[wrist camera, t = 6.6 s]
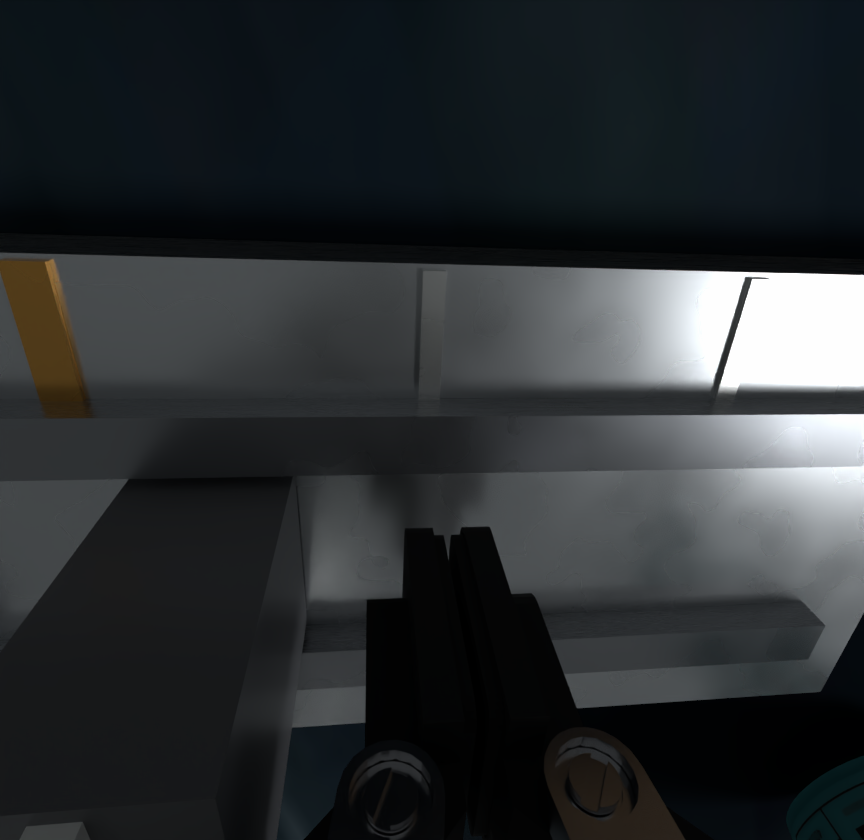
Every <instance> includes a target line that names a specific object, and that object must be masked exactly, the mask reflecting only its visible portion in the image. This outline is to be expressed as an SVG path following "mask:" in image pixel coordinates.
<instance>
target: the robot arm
mask: <svg viewBox="0 0 864 840" xmlns="http://www.w3.org/2000/svg"><path fill="white" fill-rule="evenodd" d="M466 812H467V817H468V823H469V829H470V833H471V836H482V839H483V840H713V839H712V838H711V837H709V836H708V835H706V834H705V833H703V832H702V831H701V830H699V829H698V828H696V827H695V826H693V825H692V824H691V823H689V822H688V821H686V820H685V819H683V818H682V817H681V816H679V815H678V814H676V813H675V812H674V811H672V810H671V809H669V808H668V807H666V806H665V804H664V802H663V801H662V799H661V797H660V796H659V794H658V792H657V791H656V789H655V787H654V785H653V784H652V782H651V780H650V779H649V777H648V775H647V774H646V772H645V770H644V768H643V767H642V765H641V764H640V762H639V761H638V760H637V758H636V757H635V756H634V754H633V753H632V752H631V750H630V749H628V748H627V747H626V746H625V745H624V744H623V743H621V742H620V741H619V740H618V739H617V738H615V737H613V736H611V735H609V734H607V733H605V732H603V731H601V730H597V729H593V728H589V727H584V726H583V724H582V721H581V718H580V716H579V713H578V710H577V707H576V705H575V702H574V699H573V697H572V694H571V691H570V689H569V686H568V683H567V680H566V678H565V675H564V672H563V670H562V667H561V664H560V662H559V659H558V656H557V653H556V651H555V648H554V645H553V643H552V640H551V637H550V635H549V632H548V629H547V626H546V624H545V621H544V618H543V616H542V613H541V610H540V607H539V605H538V602H537V600H536V598H535V596H534V595H533V594H532V593H523V594H511V591H510V588H509V584H508V581H507V578H506V575H505V572H504V569H503V566H502V562H501V559H500V556H499V553H498V550H497V547H496V544H495V540H494V537H493V534H492V531H491V529H490V527H489V526H481V527H462V528H461V530H460V534H457V535H451V537H450V548H449V560H448V555H447V549H446V544H445V539H444V535H434V531H433V528H405V532H404V558H403V588H402V598H392V599H367V610H366V707H365V748H364V749H363V750H362V751H360V752H359V753H358V754H357V755H355V756H354V757H353V758H352V760H351V761H350V762H349V764H348V765H347V767H346V768H345V769H344V771H343V774H342V776H341V779H340V782H339V785H338V788H337V793H336V798H335V803H334V807H333V808H332V809H331V811H330V812H329V813H328V814H327V815H326V816H325V817H324V818H323V819H322V820H321V821H320V823H319V824H318V825H317V826H316V827H315V828H314V829H313V830H312V831H311V832H310V833H309V835H308V836H307V837H306V838H305V839H304V840H463V833H464V826H465V819H466Z"/></svg>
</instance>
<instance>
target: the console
mask: <svg viewBox="0 0 864 840" xmlns="http://www.w3.org/2000/svg"><path fill="white" fill-rule="evenodd" d="M280 476H295V481H296V494H297V506H298V518H299V530H300V542H301V554H302V566H303V578H304V590H305V602H306V615H307V621H306V628H305V636H304V643H303V650H302V657H301V664H300V672H299V679H298V686H297V693H296V701H295V708H294V715H293V722H292V728H294V727H309V726H323V725H338V724H353V723H365V707H366V610H367V599H392V598H402V588H403V558H404V532H405V528H433V531H434V535H444V539H445V544H446V549H447V555H448V560H449V548H450V537H451V535H457V534H460V530H461V528H462V527H481V526H489V527H490V529H491V531H492V534H493V537H494V540H495V544H496V547H497V550H498V553H499V556H500V559H501V562H502V566H503V569H504V572H505V575H506V578H507V581H508V584H509V588H510V591H511V594H523V593H532V594H533V595H534V596H535V598H536V600H537V602H538V605H539V607H540V610H541V613H542V616H543V618H544V621H545V624H546V626H547V629H548V632H549V635H550V637H551V640H552V643H553V645H554V648H555V651H556V653H557V656H558V659H559V662H560V664H561V667H562V670H563V672H564V675H565V678H566V680H567V683H568V686H569V689H570V691H571V694H572V697H573V699H574V702H575V705H576V707H577V708H589V707H604V706H618V705H633V704H648V703H663V702H677V701H692V700H707V699H722V698H736V697H751V696H766V695H781V694H795V693H810V692H821V690H822V688H823V686H824V684H825V682H826V681H827V679H828V677H829V675H830V673H831V671H832V670H833V668H834V666H835V664H836V662H837V661H838V659H839V657H840V655H841V653H842V651H843V650H844V648H845V646H846V644H847V642H848V640H849V639H850V637H851V635H852V633H853V631H854V629H855V628H856V626H857V624H858V622H859V620H860V619H861V617H862V615H863V613H864V259H848V258H814V257H781V256H748V255H714V254H681V253H648V252H614V251H581V250H548V249H514V248H481V247H448V246H414V245H381V244H348V243H315V242H281V241H248V240H215V239H181V238H148V237H115V236H81V235H48V234H15V233H0V652H1V651H2V649H3V648H4V646H5V645H6V644H7V642H8V641H9V640H10V638H11V637H12V636H13V634H14V633H15V632H16V630H17V629H18V628H19V626H20V625H21V624H22V622H23V621H24V620H25V618H26V617H27V615H28V614H29V613H30V611H31V610H32V609H33V607H34V606H35V605H36V603H37V602H38V601H39V599H40V598H41V597H42V595H43V594H44V593H45V591H46V590H47V589H48V587H49V586H50V585H51V583H52V582H53V580H54V579H55V578H56V576H57V575H58V574H59V572H60V571H61V570H62V568H63V567H64V566H65V564H66V563H67V562H68V560H69V559H70V558H71V556H72V555H73V554H74V552H75V551H76V549H77V548H78V547H79V545H80V544H81V543H82V541H83V540H84V539H85V537H86V536H87V535H88V533H89V532H90V531H91V529H92V528H93V527H94V525H95V524H96V523H97V521H98V520H99V518H100V517H101V516H102V514H103V513H104V512H105V510H106V509H107V508H108V506H109V505H110V504H111V502H112V501H113V500H114V498H115V497H116V496H117V494H118V493H119V492H120V490H121V489H122V487H123V486H124V485H125V483H126V482H127V481H128V479H164V478H222V477H280Z"/></svg>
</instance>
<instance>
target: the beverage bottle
mask: <svg viewBox="0 0 864 840" xmlns="http://www.w3.org/2000/svg"><path fill="white" fill-rule="evenodd" d="M786 822H787V826H788V829H789V831H790V834H791V837H792V840H864V756H861V757H858V758H856V759H853V760H850V761H848V762H846V763H844V764H841V765H839V766H837V767H835V768H834V769H832V770H830V771H828V772H826V773H825V774H823V775H821V776H820V777H819V778H817V779H816V780H814V781H813V782H812V783H810V784H809V785H808V786H807V787H806V788H805V789H804V790H803V791H801V792H800V793H799V795H798V796H797V797H796V798H795V799H794V801H793V802H792V804H791V805H790V807H789V809H788V812H787V817H786Z"/></svg>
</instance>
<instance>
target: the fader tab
mask: <svg viewBox="0 0 864 840" xmlns="http://www.w3.org/2000/svg"><path fill="white" fill-rule="evenodd" d="M306 621H307V615H306V602H305V590H304V578H303V566H302V554H301V542H300V530H299V518H298V506H297V494H296V481H295V476H280V477H222V478H164V479H128V481H127V482H126V483H125V485H124V486H123V487H122V489H121V490H120V492H119V493H118V494H117V496H116V497H115V498H114V500H113V501H112V502H111V504H110V505H109V506H108V508H107V509H106V510H105V512H104V513H103V514H102V516H101V517H100V518H99V520H98V521H97V523H96V524H95V525H94V527H93V528H92V529H91V531H90V532H89V533H88V535H87V536H86V537H85V539H84V540H83V541H82V543H81V544H80V545H79V547H78V548H77V549H76V551H75V552H74V554H73V555H72V556H71V558H70V559H69V560H68V562H67V563H66V564H65V566H64V567H63V568H62V570H61V571H60V572H59V574H58V575H57V576H56V578H55V579H54V580H53V582H52V583H51V585H50V586H49V587H48V589H47V590H46V591H45V593H44V594H43V595H42V597H41V598H40V599H39V601H38V602H37V603H36V605H35V606H34V607H33V609H32V610H31V611H30V613H29V614H28V615H27V617H26V618H25V620H24V621H23V622H22V624H21V625H20V626H19V628H18V629H17V630H16V632H15V633H14V634H13V636H12V637H11V638H10V640H9V641H8V642H7V644H6V645H5V646H4V648H3V649H2V651H1V652H0V840H276V838H277V831H278V824H279V816H280V809H281V802H282V795H283V788H284V780H285V773H286V766H287V759H288V751H289V744H290V737H291V730H292V722H293V715H294V708H295V701H296V693H297V686H298V679H299V672H300V664H301V657H302V650H303V643H304V636H305V628H306Z"/></svg>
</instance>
